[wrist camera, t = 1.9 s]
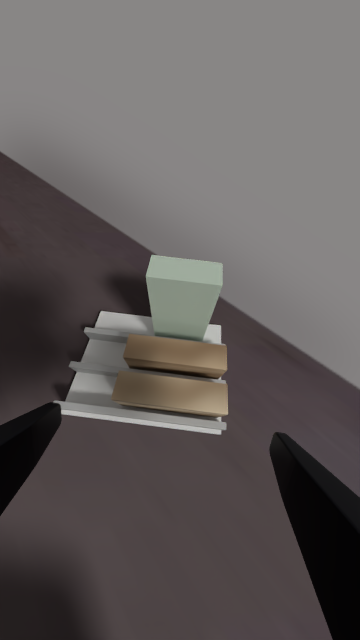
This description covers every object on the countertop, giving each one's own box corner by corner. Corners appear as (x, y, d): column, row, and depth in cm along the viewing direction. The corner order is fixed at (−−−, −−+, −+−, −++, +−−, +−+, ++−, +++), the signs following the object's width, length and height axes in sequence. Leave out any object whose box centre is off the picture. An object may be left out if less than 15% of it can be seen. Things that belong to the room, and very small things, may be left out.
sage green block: (201, 343, 24) (222, 285, 14) (154, 337, 24) (145, 276, 15) (202, 326, 25) (222, 263, 16) (158, 320, 25) (151, 255, 16)
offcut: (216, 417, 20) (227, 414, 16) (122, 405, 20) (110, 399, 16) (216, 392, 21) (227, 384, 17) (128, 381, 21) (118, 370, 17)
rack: (218, 434, 20) (226, 435, 17) (64, 414, 20) (49, 411, 17) (219, 329, 26) (224, 317, 24) (103, 314, 26) (96, 302, 24)
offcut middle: (216, 380, 22) (227, 370, 18) (131, 370, 22) (122, 356, 18) (216, 360, 23) (226, 345, 19) (135, 350, 23) (129, 333, 19)
